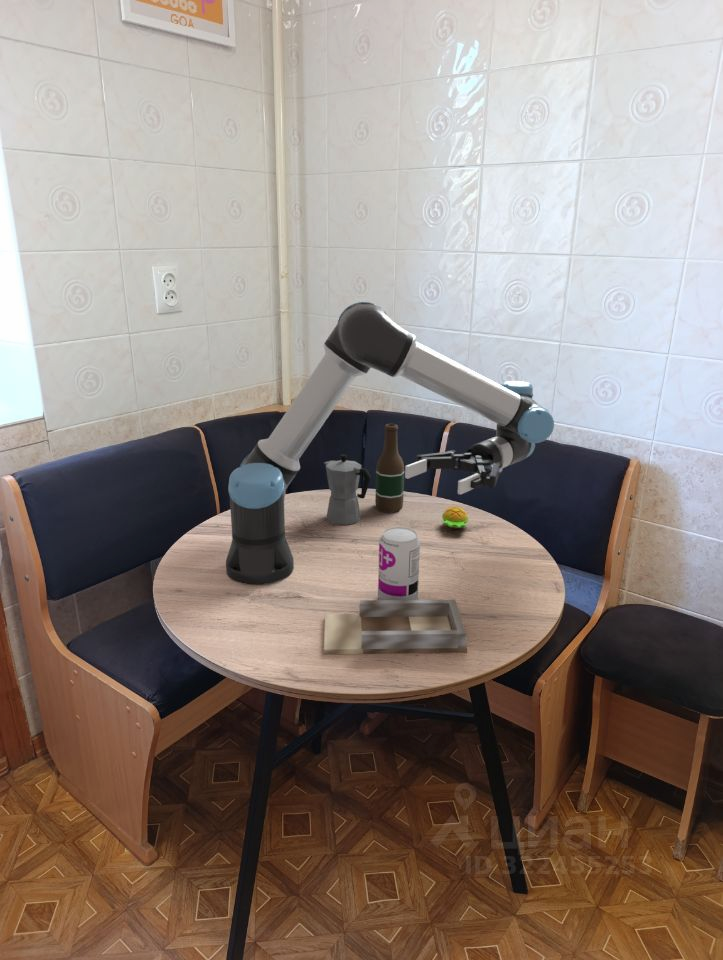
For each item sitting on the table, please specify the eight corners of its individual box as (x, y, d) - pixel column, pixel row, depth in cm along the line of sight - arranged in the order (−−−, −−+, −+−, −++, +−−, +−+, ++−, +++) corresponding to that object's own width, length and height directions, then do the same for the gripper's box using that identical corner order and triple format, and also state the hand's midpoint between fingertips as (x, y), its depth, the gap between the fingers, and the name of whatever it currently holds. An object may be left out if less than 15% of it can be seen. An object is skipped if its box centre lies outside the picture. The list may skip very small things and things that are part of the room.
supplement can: (388, 613, 133) (390, 545, 128) (371, 594, 140) (372, 529, 135) (424, 605, 136) (427, 539, 131) (406, 586, 143) (408, 523, 138)
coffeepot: (313, 517, 178) (312, 453, 172) (336, 507, 185) (336, 445, 179) (358, 532, 169) (358, 466, 163) (380, 521, 176) (381, 457, 170)
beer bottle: (408, 507, 185) (411, 424, 177) (390, 515, 180) (392, 430, 171) (387, 500, 190) (389, 419, 182) (369, 507, 185) (370, 424, 176)
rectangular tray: (324, 654, 119) (323, 635, 118) (325, 618, 131) (324, 600, 129) (467, 652, 120) (468, 633, 119) (455, 617, 132) (457, 599, 130)
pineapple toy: (468, 521, 176) (469, 503, 175) (467, 537, 167) (468, 518, 165) (442, 519, 177) (443, 501, 176) (440, 535, 168) (441, 516, 166)
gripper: (536, 485, 144) (482, 512, 130) (443, 460, 160) (386, 482, 146) (539, 452, 142) (485, 476, 127) (445, 430, 158) (386, 449, 143)
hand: (432, 479), depth 136 cm, fingers open, 13 cm apart
